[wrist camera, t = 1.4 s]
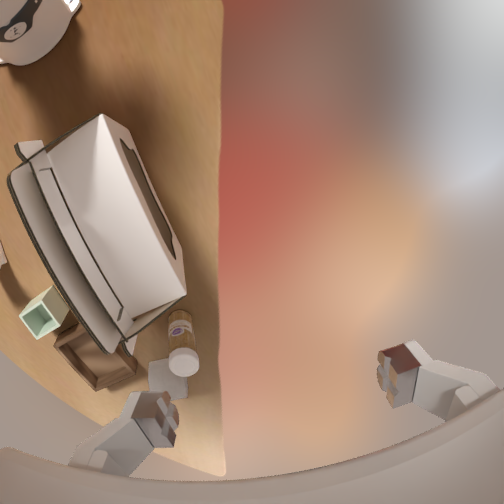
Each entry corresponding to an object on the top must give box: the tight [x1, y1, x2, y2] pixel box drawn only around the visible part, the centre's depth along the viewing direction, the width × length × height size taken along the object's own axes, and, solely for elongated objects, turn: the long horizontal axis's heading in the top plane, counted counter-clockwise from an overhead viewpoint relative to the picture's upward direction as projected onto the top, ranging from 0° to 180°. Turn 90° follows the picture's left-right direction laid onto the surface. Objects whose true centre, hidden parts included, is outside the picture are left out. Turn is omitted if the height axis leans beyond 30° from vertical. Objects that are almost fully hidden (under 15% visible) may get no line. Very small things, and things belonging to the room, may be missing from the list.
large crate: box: [54, 323, 137, 392], centre depth 47 cm, size 13×11×4 cm
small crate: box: [19, 285, 70, 340], centre depth 41 cm, size 7×6×6 cm
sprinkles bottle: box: [168, 310, 199, 377], centre depth 45 cm, size 5×5×14 cm
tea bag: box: [148, 358, 188, 401], centre depth 49 cm, size 4×7×10 cm, turn 100°
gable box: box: [7, 113, 187, 358], centre depth 30 cm, size 22×13×28 cm, turn 22°
